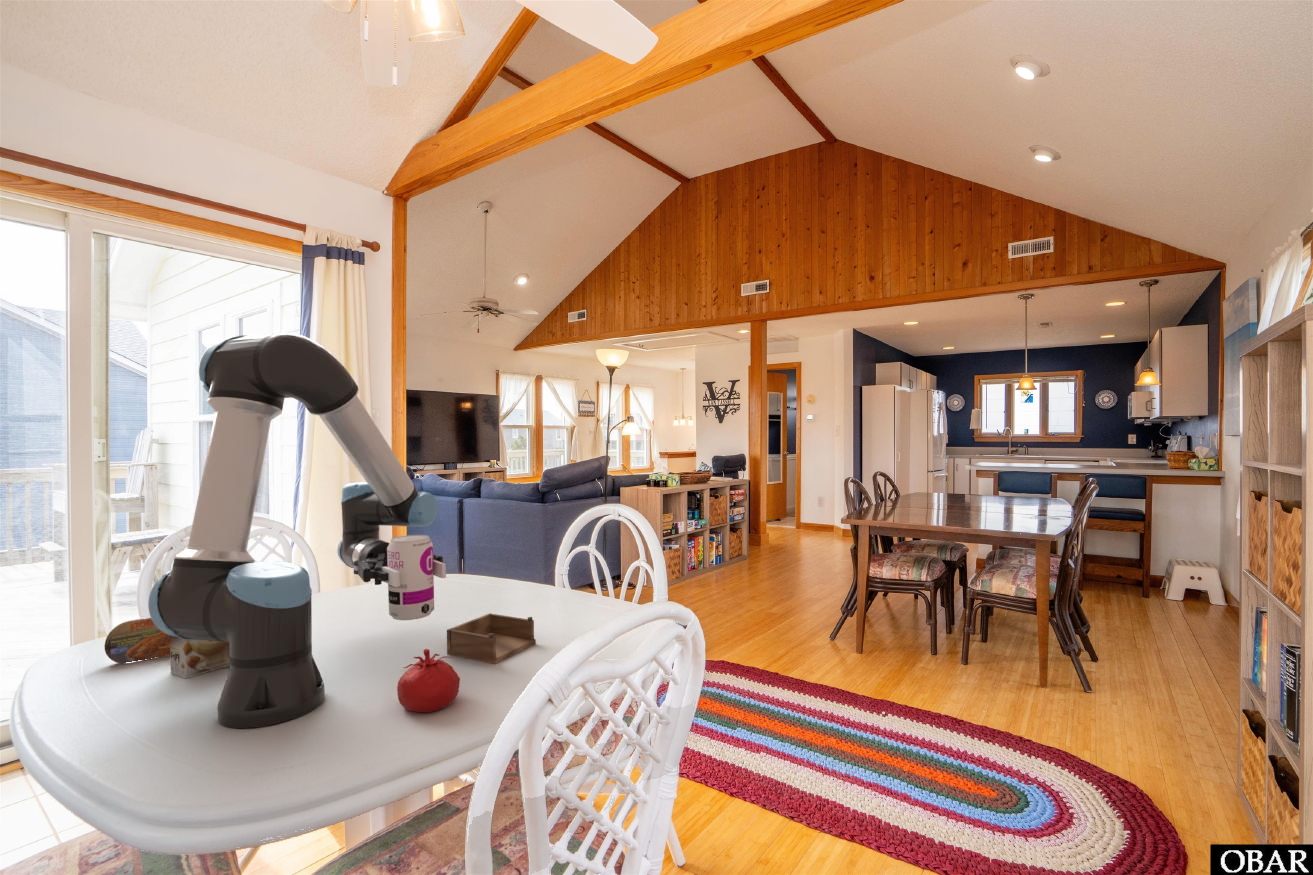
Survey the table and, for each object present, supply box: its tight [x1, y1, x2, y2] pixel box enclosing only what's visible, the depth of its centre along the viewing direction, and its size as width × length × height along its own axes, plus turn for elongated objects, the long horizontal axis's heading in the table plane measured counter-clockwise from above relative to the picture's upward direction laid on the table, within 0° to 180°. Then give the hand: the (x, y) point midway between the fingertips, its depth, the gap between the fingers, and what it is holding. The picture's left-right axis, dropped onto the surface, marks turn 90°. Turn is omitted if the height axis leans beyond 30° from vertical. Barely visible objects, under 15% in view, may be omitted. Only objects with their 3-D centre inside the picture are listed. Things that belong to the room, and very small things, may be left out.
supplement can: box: [387, 534, 435, 621], centre depth 123 cm, size 8×8×15 cm
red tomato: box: [396, 648, 461, 714], centre depth 105 cm, size 10×10×9 cm
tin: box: [104, 616, 170, 664], centre depth 130 cm, size 15×3×8 cm, turn 133°
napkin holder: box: [446, 612, 537, 665], centre depth 131 cm, size 13×13×6 cm
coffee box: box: [169, 635, 230, 679], centre depth 123 cm, size 9×6×16 cm
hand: (421, 574), depth 119 cm, fingers closed on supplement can, 8 cm apart
